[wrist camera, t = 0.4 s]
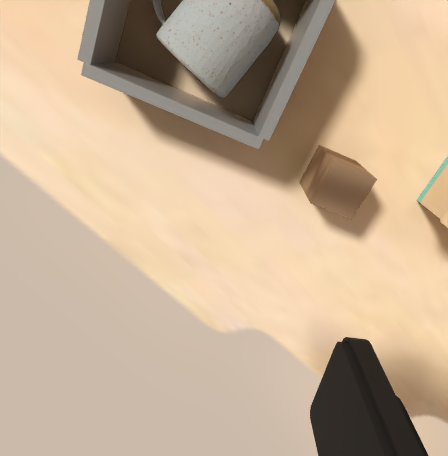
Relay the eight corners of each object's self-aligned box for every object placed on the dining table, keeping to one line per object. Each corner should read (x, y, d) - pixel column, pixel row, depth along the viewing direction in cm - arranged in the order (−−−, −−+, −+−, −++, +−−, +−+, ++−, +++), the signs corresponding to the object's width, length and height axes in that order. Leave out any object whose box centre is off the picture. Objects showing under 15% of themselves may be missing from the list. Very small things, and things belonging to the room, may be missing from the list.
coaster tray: (146, -117, 28) (123, -163, 22) (327, -21, 31) (353, -38, 25) (102, 67, 35) (74, 72, 28) (257, 134, 37) (264, 151, 31)
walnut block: (319, 144, 38) (334, 160, 33) (355, 160, 39) (376, 179, 33) (299, 182, 40) (310, 203, 34) (334, 196, 41) (351, 219, 35)
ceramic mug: (281, 24, 33) (295, 16, 26) (223, 96, 36) (222, 106, 29) (191, -71, 30) (179, -108, 23) (135, 15, 33) (110, 6, 26)
